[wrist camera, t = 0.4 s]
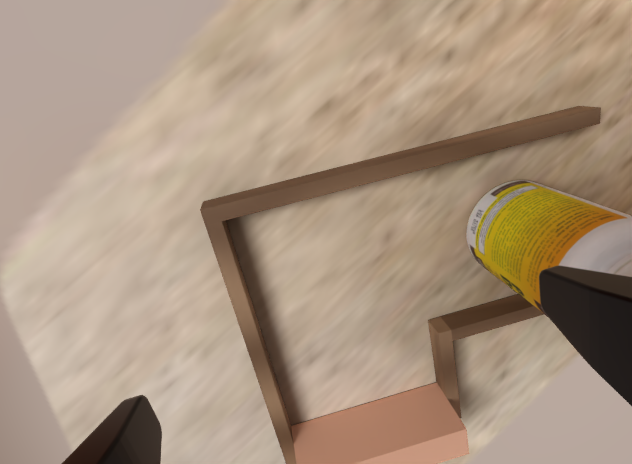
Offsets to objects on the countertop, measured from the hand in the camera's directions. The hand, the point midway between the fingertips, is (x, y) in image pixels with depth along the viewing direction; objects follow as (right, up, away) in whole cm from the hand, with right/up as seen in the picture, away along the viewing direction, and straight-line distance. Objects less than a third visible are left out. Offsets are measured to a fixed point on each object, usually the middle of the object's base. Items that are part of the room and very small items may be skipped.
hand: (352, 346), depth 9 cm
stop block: (+3, -10, +19) cm, 21 cm away
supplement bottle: (+10, +3, +16) cm, 19 cm away
